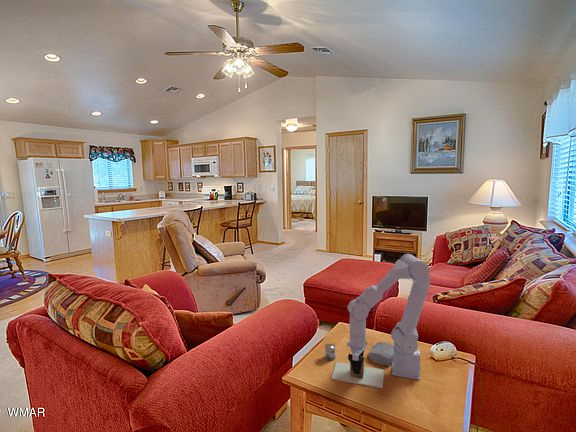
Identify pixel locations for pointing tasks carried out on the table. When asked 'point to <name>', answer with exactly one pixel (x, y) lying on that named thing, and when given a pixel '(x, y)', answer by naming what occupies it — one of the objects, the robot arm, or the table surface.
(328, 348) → the steel cylinder
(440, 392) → the table surface
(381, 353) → the stone block
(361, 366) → the walnut block
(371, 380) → the sage mat
